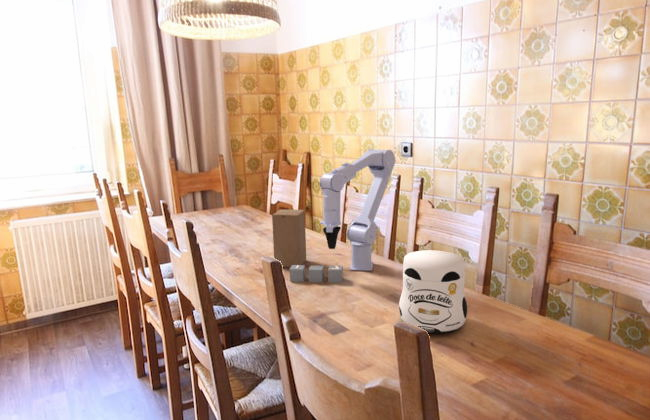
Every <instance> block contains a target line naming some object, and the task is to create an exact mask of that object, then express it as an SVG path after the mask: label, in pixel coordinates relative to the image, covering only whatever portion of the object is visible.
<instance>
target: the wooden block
mask: <svg viewBox="0 0 650 420" xmlns="http://www.w3.org/2000/svg"><path fill="white" fill-rule="evenodd" d="M271 218H272V219H271V220H272V240H273V241H272V243H273V244H272V245H273V259H274V258H275V259H277V260H279V261H281V263H282V265H283V267H282V268H291V266H292V265H304V263H305V262H306V260H307V242H306V240H307V239H306V211H305V209H279V210H277V211H276V212H273V214H272V215H271Z"/></svg>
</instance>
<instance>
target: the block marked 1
mask: <svg viewBox="0 0 650 420" xmlns="http://www.w3.org/2000/svg"><path fill="white" fill-rule="evenodd" d="M305 279H306V265H305V264H303V265H292V266H291V267H289V281H294V282H293V283H297V282H298V283H303V282H304V281H305Z"/></svg>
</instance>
